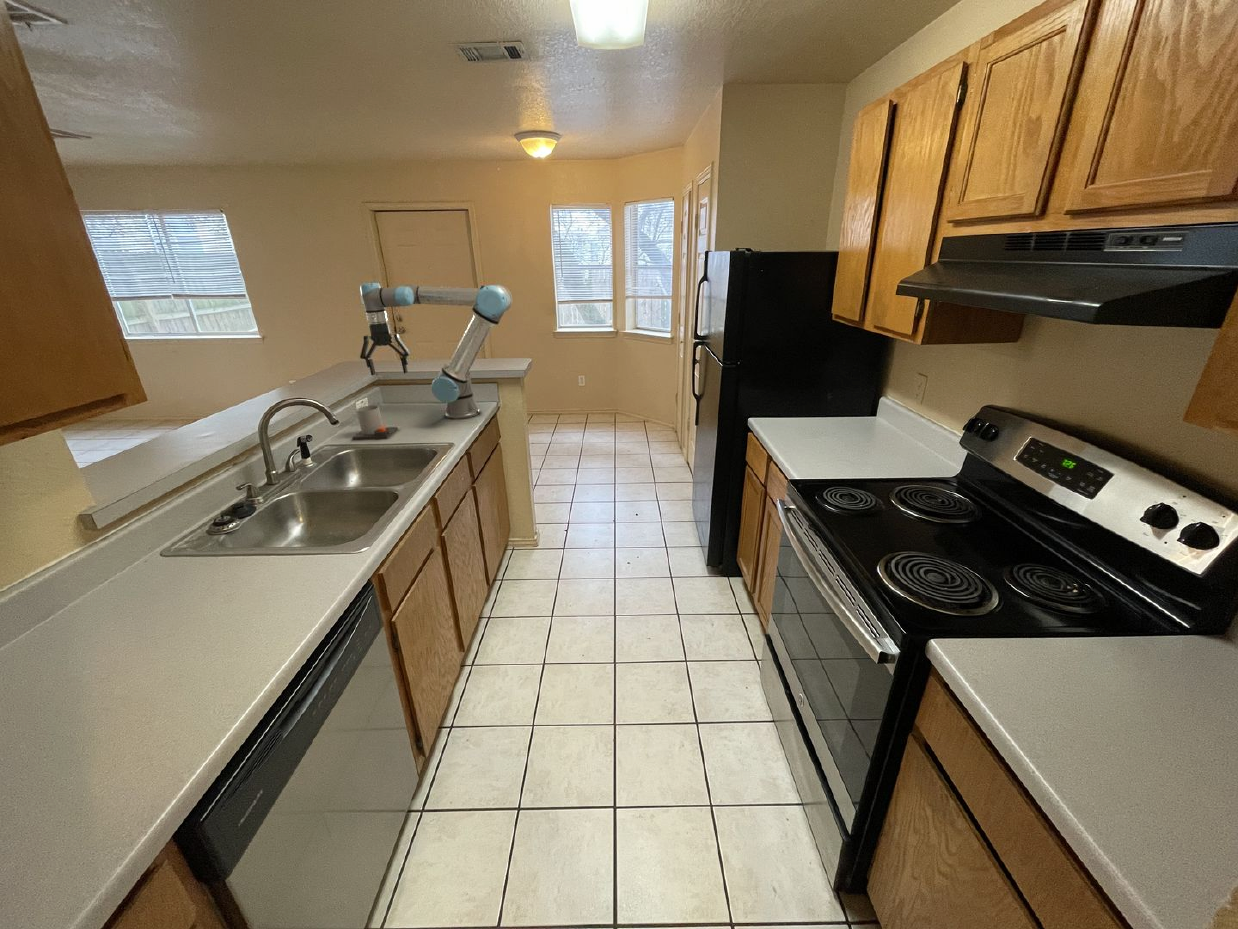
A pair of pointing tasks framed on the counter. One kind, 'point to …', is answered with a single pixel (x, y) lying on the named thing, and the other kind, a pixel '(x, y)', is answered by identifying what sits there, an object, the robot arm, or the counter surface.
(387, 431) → the scale
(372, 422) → the cup
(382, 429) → the tare button
